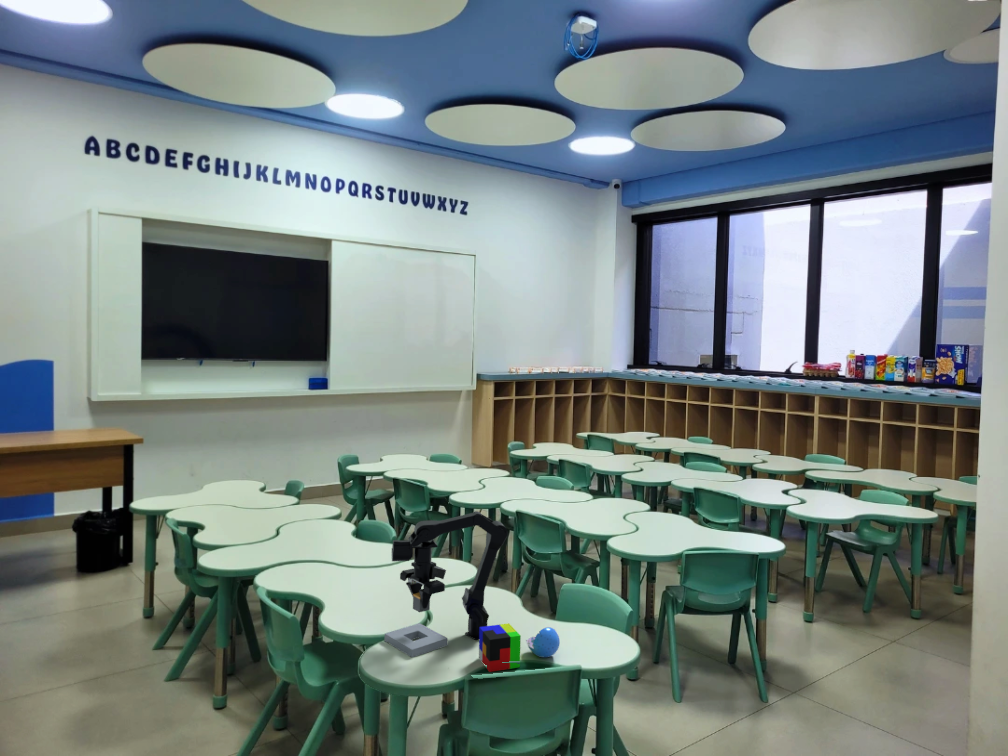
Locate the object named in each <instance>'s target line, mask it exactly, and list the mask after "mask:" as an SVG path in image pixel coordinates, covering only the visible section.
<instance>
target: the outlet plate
mask: <svg viewBox="0 0 1008 756" xmlns="http://www.w3.org/2000/svg"><path fill="white" fill-rule="evenodd" d="M415 639H416V640H415ZM383 641H384V642H386V643H387V642H389V643H390V644H391V645H390V644H389V643H388V644H389V645H390V646H392V647H394V648H396V649H397V650H399V651H400V652H402V653H404V654H405V655H407V656H408V657H410V658H414V657H417V656H420V655H421V656H422V655H423V654H427V653H429V652H432V651H435V650H438V649H441V648H444V647H447V646H448V637H446V636H444V635H443V634H441V633H439V632H437V631H435V630H433V629H432V628H429V627H427V626H425V625H424V624H422V623H420V622H418V623H415V624H412V625H408V626H404V627H402V628H398V629H394V630H391V631H389V632H386V633H384V640H383Z"/></svg>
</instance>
